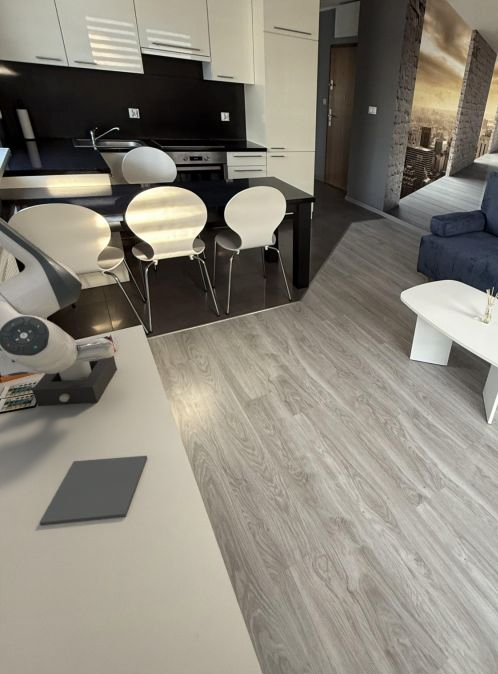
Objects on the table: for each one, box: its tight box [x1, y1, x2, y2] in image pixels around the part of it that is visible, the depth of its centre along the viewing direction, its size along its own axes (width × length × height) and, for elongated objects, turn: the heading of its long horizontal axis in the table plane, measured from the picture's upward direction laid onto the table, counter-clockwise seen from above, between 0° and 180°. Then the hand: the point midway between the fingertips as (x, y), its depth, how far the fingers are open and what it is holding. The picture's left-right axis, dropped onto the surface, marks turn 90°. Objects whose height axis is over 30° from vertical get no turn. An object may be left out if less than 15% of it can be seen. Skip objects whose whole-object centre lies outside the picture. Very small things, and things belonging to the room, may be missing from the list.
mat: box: [39, 455, 148, 526], centre depth 77 cm, size 14×13×1 cm
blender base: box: [31, 355, 118, 407], centre depth 100 cm, size 13×14×5 cm
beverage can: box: [59, 361, 91, 381], centre depth 99 cm, size 6×6×12 cm
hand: (69, 362), depth 95 cm, fingers open, 8 cm apart
